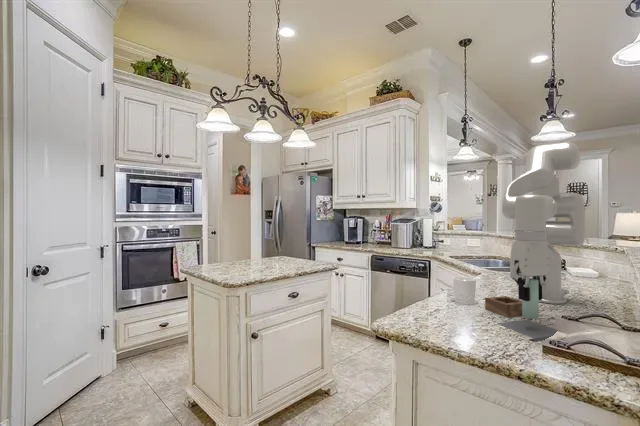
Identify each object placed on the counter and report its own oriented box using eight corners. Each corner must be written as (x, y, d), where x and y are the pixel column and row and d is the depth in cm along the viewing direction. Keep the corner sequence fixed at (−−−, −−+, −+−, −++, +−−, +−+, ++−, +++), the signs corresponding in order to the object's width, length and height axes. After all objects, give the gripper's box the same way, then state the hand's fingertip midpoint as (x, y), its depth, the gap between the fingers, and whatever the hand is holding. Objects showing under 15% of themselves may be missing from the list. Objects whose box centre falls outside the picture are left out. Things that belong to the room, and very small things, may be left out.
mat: (527, 322, 99) (527, 319, 99) (566, 337, 88) (566, 333, 88) (497, 326, 96) (497, 323, 96) (533, 342, 84) (533, 338, 84)
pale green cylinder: (529, 314, 94) (529, 277, 94) (542, 318, 90) (541, 280, 90) (518, 315, 93) (518, 278, 93) (531, 319, 89) (531, 281, 89)
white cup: (471, 302, 123) (471, 276, 123) (479, 308, 115) (479, 280, 115) (450, 301, 123) (450, 276, 123) (457, 307, 115) (457, 280, 115)
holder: (505, 309, 113) (505, 295, 113) (528, 317, 104) (528, 302, 104) (485, 312, 110) (485, 297, 110) (506, 320, 101) (506, 305, 101)
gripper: (539, 235, 98) (539, 294, 98) (496, 236, 93) (496, 298, 93) (564, 237, 91) (564, 300, 90) (519, 238, 86) (519, 305, 86)
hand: (530, 298), depth 92 cm, fingers closed on pale green cylinder, 4 cm apart
